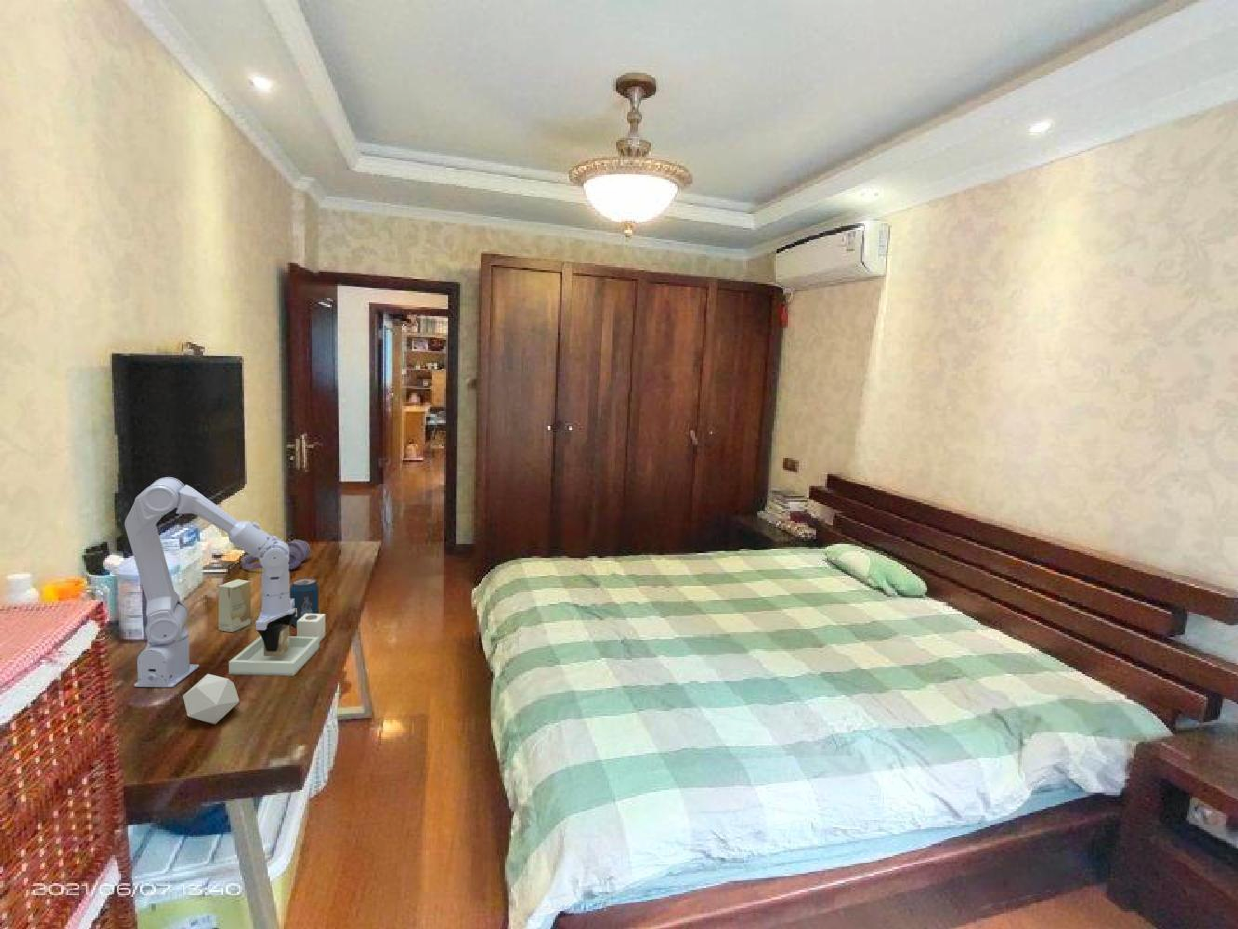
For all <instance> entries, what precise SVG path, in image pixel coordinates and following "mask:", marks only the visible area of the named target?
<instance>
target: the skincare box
mask: <svg viewBox="0 0 1238 929" xmlns="http://www.w3.org/2000/svg"><path fill="white" fill-rule="evenodd" d="M249 625H251V581H250V580H244V579H239V578H238V579H234V580H232V581H228V582H226V583H222V584H219V585H218V630H219V631H223V632H229V633H233V632H235V631H238V630H240V629H243V628H245V627H247V626H249Z"/></svg>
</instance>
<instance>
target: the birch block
mask: <svg viewBox="0 0 1238 929" xmlns="http://www.w3.org/2000/svg"><path fill="white" fill-rule="evenodd" d="M289 636H290V629H289V625H283V627H282V629H281V631H280V635H279V642H278V648H277V651H275V652H272V651H266V648H265V645H264V642H263V647H264V656H282V655H283V654H284V653H285V652H286V651H287V650H289Z"/></svg>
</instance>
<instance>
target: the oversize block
mask: <svg viewBox="0 0 1238 929" xmlns="http://www.w3.org/2000/svg"><path fill="white" fill-rule="evenodd" d="M296 636H299V637H319V643H320V642H321V641H322V640H323V639H324V638H325V637H326V613H319V614H304V615H303V616H302V617H301V618H300V619H299V620H298V621H297V627H296Z"/></svg>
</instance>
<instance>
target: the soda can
mask: <svg viewBox="0 0 1238 929" xmlns="http://www.w3.org/2000/svg"><path fill="white" fill-rule="evenodd" d="M319 592H320V591H319V584H318V583H317V580H316V578H314V577H302V578H301V577H300V578H296V579H294V580H293V581H292V583H291V586H290V599H294V607H291V608H292V609H295V611H296V615H295V617H294V618H293V621H292V623H291V625H292V626H293V627H296V628H297V621H298V620H299V619H300V618H301V617H302V616H303V615H304V614H320V612H319V611H320V610H319V609H320V607H319V605H320V604H319V599H320V598H319V596H320V595H319Z"/></svg>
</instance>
